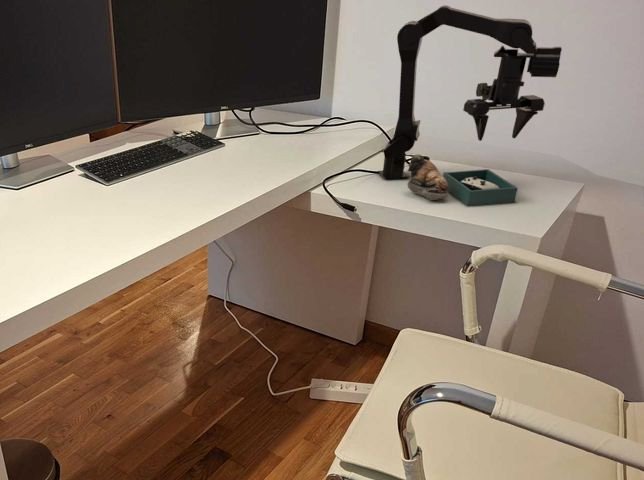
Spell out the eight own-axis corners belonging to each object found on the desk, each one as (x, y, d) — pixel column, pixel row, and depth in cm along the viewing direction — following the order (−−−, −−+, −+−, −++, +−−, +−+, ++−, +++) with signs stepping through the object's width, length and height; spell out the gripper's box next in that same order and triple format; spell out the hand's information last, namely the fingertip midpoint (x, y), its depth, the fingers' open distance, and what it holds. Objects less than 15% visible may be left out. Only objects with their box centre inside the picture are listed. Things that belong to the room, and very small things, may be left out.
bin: (441, 186, 181) (443, 172, 179) (485, 182, 182) (488, 169, 179) (467, 206, 168) (470, 191, 166) (514, 202, 169) (518, 187, 167)
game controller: (502, 189, 172) (495, 177, 168) (489, 207, 172) (482, 194, 168) (471, 180, 179) (463, 167, 175) (459, 196, 180) (451, 184, 176)
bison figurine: (452, 199, 172) (459, 161, 167) (434, 205, 169) (441, 166, 164) (415, 187, 181) (420, 150, 175) (397, 193, 178) (402, 156, 172)
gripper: (528, 68, 173) (515, 128, 182) (459, 72, 172) (448, 133, 181) (552, 75, 164) (537, 139, 172) (479, 81, 163) (467, 144, 171)
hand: (496, 139), depth 174 cm, fingers open, 9 cm apart
